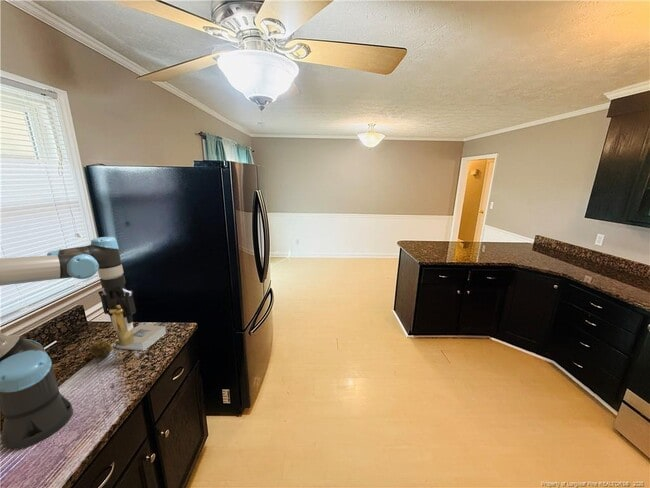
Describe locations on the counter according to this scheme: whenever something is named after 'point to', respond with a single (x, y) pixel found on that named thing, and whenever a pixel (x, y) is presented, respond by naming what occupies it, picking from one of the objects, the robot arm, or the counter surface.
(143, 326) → the housing
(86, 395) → the counter surface
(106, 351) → the potato
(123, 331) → the gold tall flared cylinder
